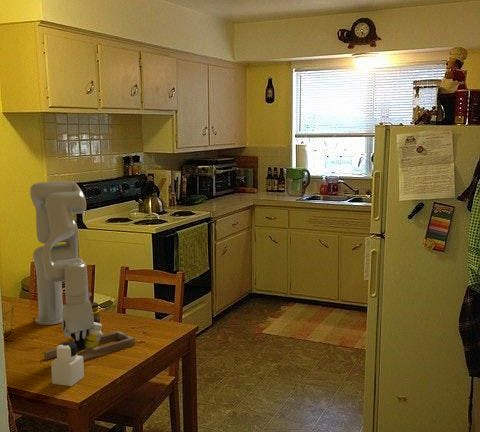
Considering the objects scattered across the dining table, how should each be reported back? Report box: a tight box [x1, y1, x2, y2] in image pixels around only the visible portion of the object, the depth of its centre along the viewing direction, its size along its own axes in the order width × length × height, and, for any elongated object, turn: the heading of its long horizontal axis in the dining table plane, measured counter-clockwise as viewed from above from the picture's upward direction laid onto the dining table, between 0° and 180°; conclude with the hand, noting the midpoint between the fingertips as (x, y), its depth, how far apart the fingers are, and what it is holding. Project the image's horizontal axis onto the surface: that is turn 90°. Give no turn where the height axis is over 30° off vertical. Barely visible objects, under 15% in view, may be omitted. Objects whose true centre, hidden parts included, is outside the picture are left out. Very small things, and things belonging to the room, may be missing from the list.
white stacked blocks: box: [50, 341, 85, 387], centre depth 172 cm, size 7×7×12 cm
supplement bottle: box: [83, 322, 103, 352], centre depth 195 cm, size 5×5×10 cm
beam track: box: [43, 330, 136, 362], centre depth 197 cm, size 14×30×3 cm, turn 134°
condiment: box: [78, 301, 104, 335], centre depth 212 cm, size 7×8×12 cm
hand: (79, 349), depth 192 cm, fingers closed
